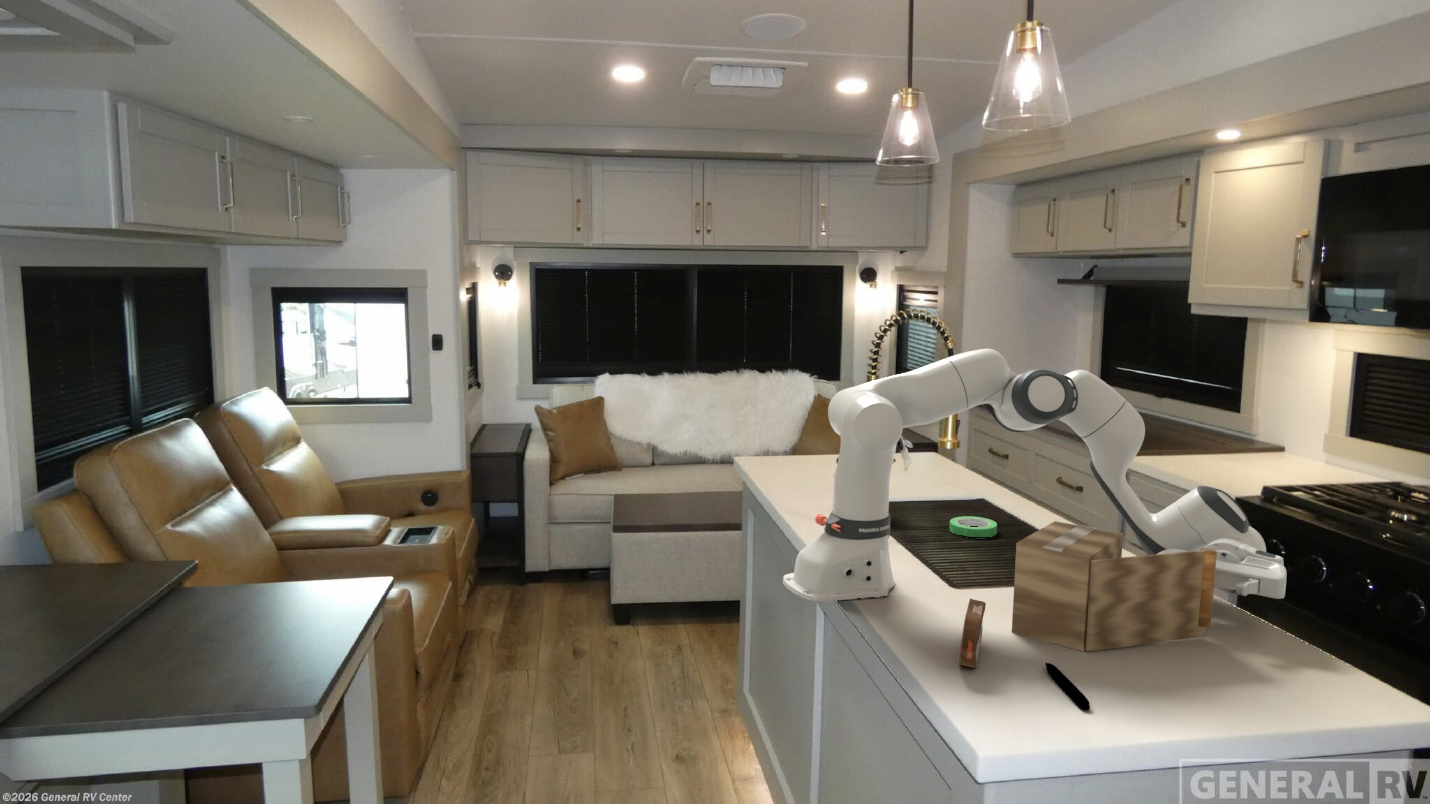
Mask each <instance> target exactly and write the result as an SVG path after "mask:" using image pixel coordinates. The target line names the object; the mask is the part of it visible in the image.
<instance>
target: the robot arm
mask: <svg viewBox="0 0 1430 804" xmlns="http://www.w3.org/2000/svg"><path fill="white" fill-rule="evenodd" d="M980 405H983V407H984V408H985V409H986V411H987V412H988V413H989V414H990V415H991V417H992V419H993V421H994V422H995V423H996V424H997V425H998V426H999V427H1001V428H1003V429H1004V430H1006V431H1008V432H1014V433H1024V432H1027V431H1033V430H1036V429H1037V430H1038V429H1039V428H1041V427H1045V426H1046V425H1048V424H1051V423H1054V422H1056V421H1060V422H1063V423H1064V424H1066V425H1067V426H1068V427H1070V428H1071V429H1072V430H1073V431H1074V433H1076V434H1077V435H1078V437H1080V439H1082V441H1083V442H1084V443H1085V444H1086V446H1087V447H1088V449H1089V452H1090V455H1091V459H1090V462H1089V467H1090V470H1091V473H1092V474H1093V477H1094V478H1095V480H1096V481H1097V483H1098V485H1099V486H1100V487H1101V489H1102V491H1103V492H1104V493H1105V495H1106V497H1107V498H1108V499H1109V501H1110V502H1111V503H1112V505H1113V506H1114V507H1115V509H1116V510H1117V511H1118V513H1119V514H1120V516H1121V517H1122V518H1123V520H1124V521H1125V523H1126V524H1127V526H1128V527H1129V528H1130V529H1131V531H1132V533H1133V534H1134V536H1135V538H1136V540H1137V542H1138V543H1139V545H1140V546H1141V548H1142V550H1143V551H1144V552H1145V553H1146V555H1155V554H1166V553H1176V552H1187V551H1198V550H1201V549H1212V550H1215V551H1217V557H1216V569H1215V580H1214V588H1216V589H1220V590H1223V591H1235V595H1239V596H1243V597H1247V595H1256V596H1261V597H1266V598H1270V599H1276V600H1281V599H1282V600H1283V599H1284V598H1285V596H1286V588H1287V587H1286V586H1287V574H1288V573H1287V569H1286V567H1285V566H1284V565H1285V564H1284V563H1285V562H1284V557H1282V556H1280V555H1277V554H1274V553H1269V552H1267V547H1266V543H1265V541H1264V540H1265V539H1264V538H1263V537H1262V535H1261V533H1260V532H1258V530H1256V529H1255V528H1253V527H1252V526H1251V525H1250V523H1249V518H1248V516H1247V514H1246V512H1245V511H1244V509H1243V507H1242V506H1241V505H1240V504H1239V503H1238V502H1237V501H1236V500H1235V499H1234V498H1233V497H1232V496H1231V495H1230V494H1228V493H1227V492H1225V491H1224V490H1221V489H1219V488H1215V487H1212V486H1208V485H1207V486H1206V485H1199V486H1197V487H1195V488H1193V489H1192V490H1191V491H1189V492H1187V493H1186V494H1184V495H1183V496H1181V497H1180V498H1179V497H1178V499H1177V500H1176V501H1174V502H1173V503H1171V504H1170V505H1168V506H1166V507H1165V508H1164V509H1161V511H1160V510H1159V511H1158V512H1156V513H1152V512H1150V511H1149V510H1148V509H1147V508H1146V506H1145V504H1144V503H1143V502H1142V501H1141V499H1140V498H1139V496H1138V495H1137V494H1136V493H1135V491H1134V490H1133V488H1132V487H1131V486H1130V484H1129V482H1128V481H1127V478H1126V474H1127V471H1128V470H1129V467H1130V466H1131V464H1132V463H1133V462H1134V459H1136V457H1137V455H1138V453H1139V451H1140V450H1141V447H1142V445H1143V442H1144V439H1145V435H1146V426H1145V422H1144V419H1143V417H1142V416H1141V414H1140V413H1139V412H1138V410H1137V409H1135V407H1134V406H1133V405H1132V404H1131V403H1130V402H1129V401H1127V400H1126V399H1125V398H1124V397H1123V396H1122V395H1121V394H1120V393H1119V392H1118V391H1117V390H1116V389H1114V388H1113V387H1112V386H1111V385H1109V384H1107V382H1106V381H1104V380H1102V379H1101V378H1100V377H1098V376H1097V375H1095V374H1093V373H1092V372H1090V371H1088V370H1085V369H1075V370H1072V371H1069V372H1067V373H1065V374H1060V373H1057V372H1055V371H1052V370H1049V369H1043V368H1039V369H1038V368H1035V369H1030V370H1026V371H1025V372H1023V373H1021V374H1017V373H1016V372H1014V371H1013V370H1012V369H1011V368H1010V367H1009V364H1008V362H1007V359H1006V358H1005V357H1004V356H1003V355H1002V354H1001V353H1000V352H999V351H997V350H996V349H992V348H980V349H975V350H968V351H964V352H961V353H956V354H953V355H951V356H949V357H945V358H943V359H940V360H937V361H934V362H931V363H929V364H926V365H923V366H921V367H917V368H915V369H912V370H910V371H907V372H902V373H900V374H899V373H898V374H894V375H892V376H891V375H890V376H887V377H883V378H879V379H876V380H875V379H874V380H872V381H868V382H865V383H861V384H858V385H855V386H851V387H847V388H844V389H841V390H839V391H838V392H836V393H835V394H834V395H833V397H832V398H831V399H830V402H829V404H828V407H827V415H828V421H829V423H830V426H831V428H832V429H833V431H834V433H836V434H837V435H838V436H839V437H840V446H839V447H840V448H839V454H838V457H839V458H838V457H837V458H838V463H837V462H836V469H835V471H834V473H833V481H832V489H833V490H832V511H831V512H830V514H829V516H828V518H827V516H825V515H823V514H820V513H818V514H816V516H815V517H814V522H815V523H816V524H817V525H819V526H821V527H824V531H822V532H821V533H820V534H819V535H818V536H817V537H816V538H815V539H814V540H812V541H811V542H810V543H809V544H807V545H806V546H805V547H804V548H802V549H801V550H800V551H799V552H798V554H797V555H796V559H795V564H794V570H793V572H791V573H786V574H784V575H783V578H782V583H783V586H784V587H785V588H786V589H788V591H790V592H791V593H793V594H794V595H796V596H798V597H800V598H802V599H805V600H808V601H812V602H831V601H843V600H844V601H846V600H858V599H857V598H861V599H865V598H864V597H875V598H884V597H883V596H886V597H888V596H889V594H888V592H889V591H890V590H891V589H893V588H894V587H895V584H896V582H895V579H894V576H893V570H892V566H891V558H890V549H889V547H890V546H889V545H890V544H889V538H890V535H891V514H890V513H889V508H890V507H889V506H890V505H889V504H890V503H889V502H890V481H891V474H892V467H893V464H894V463H893V459H895V454H896V451H897V445H898V442H899V441H900V439H901V437H902V435H903V430H904V429H906V428H911V427H915V426H925V425H929V424H932V423H934V422H938V421H940V420H943V419H945V418H948V417H951V416H954V415H956V414H960V413H961V412H965V411H967V410H969V409H973V408H976V407H977V406H980ZM892 463H893V464H892ZM890 588H891V589H890ZM889 589H890V590H889ZM887 595H888V596H887ZM880 596H882V597H880ZM862 597H863V598H862Z"/></svg>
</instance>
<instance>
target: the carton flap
mask: <svg viewBox="0 0 1430 804" xmlns="http://www.w3.org/2000/svg"><path fill="white" fill-rule="evenodd" d="M1216 557H1217V551H1215V550H1212V549H1204V548H1201V549H1199V550H1197V551H1187V552H1176V553H1166V554H1155V555H1147V554H1145V555H1135V556H1126V557H1125V556H1123V557H1122V558H1111V559H1100V560H1092V561H1091V576H1090V591H1089V606H1088V621H1087V636H1086V649H1085V650H1086V651H1088V652H1089V651H1098V650H1107V649H1115V648H1124V647H1131V646H1132V647H1133V646H1141V645H1147V644H1156V643H1164V642H1170V641H1173V642H1174V641H1179V640H1180V641H1181V640H1189V639H1196V638H1204V637H1205V629H1206V628H1210V627H1212V626H1211V625H1212V624H1211V623H1212V615H1213V614H1212V611H1213V604H1214V603H1213V602H1214V590H1215V589H1214V588H1215V587H1214V580H1215V569H1216Z"/></svg>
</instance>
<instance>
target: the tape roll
mask: <svg viewBox="0 0 1430 804" xmlns="http://www.w3.org/2000/svg"><path fill="white" fill-rule="evenodd" d="M970 526H978V527H970ZM949 529H950V530H949V532H950V531H951V532H952V533H951V532H950V533H951V534H953V533H955V534H957V535H956V536H958V535H964V536H969V537H991V538H993V537H992V536H994V535H996V534H997V533H998V523H997V522H996V521H995V520H993V519H990V518H986V517H982V516H981V517H980V516H972V515H971V516H969V515H968V516H967V515H964V516H957V517H953V518H950V520H949ZM955 534H954V535H955ZM996 536H997V535H996ZM994 537H995V536H994Z"/></svg>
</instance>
